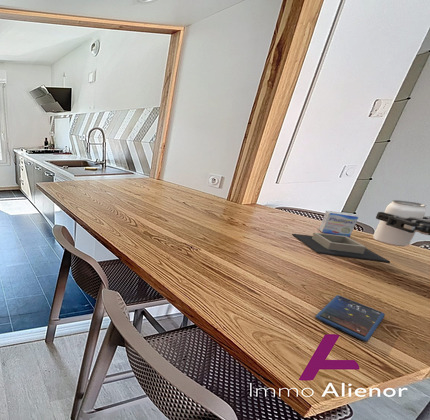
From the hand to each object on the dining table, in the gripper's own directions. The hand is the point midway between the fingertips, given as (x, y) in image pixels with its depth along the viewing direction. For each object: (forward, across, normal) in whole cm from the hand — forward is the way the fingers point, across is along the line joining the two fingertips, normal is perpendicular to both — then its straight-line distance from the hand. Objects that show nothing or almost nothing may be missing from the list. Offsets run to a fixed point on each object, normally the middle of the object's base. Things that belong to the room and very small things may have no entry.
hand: (391, 215), depth 71 cm
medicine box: (+24, -13, +16) cm, 32 cm away
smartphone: (-26, +32, +16) cm, 44 cm away
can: (-2, 0, +8) cm, 8 cm away
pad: (+11, -1, +16) cm, 20 cm away
